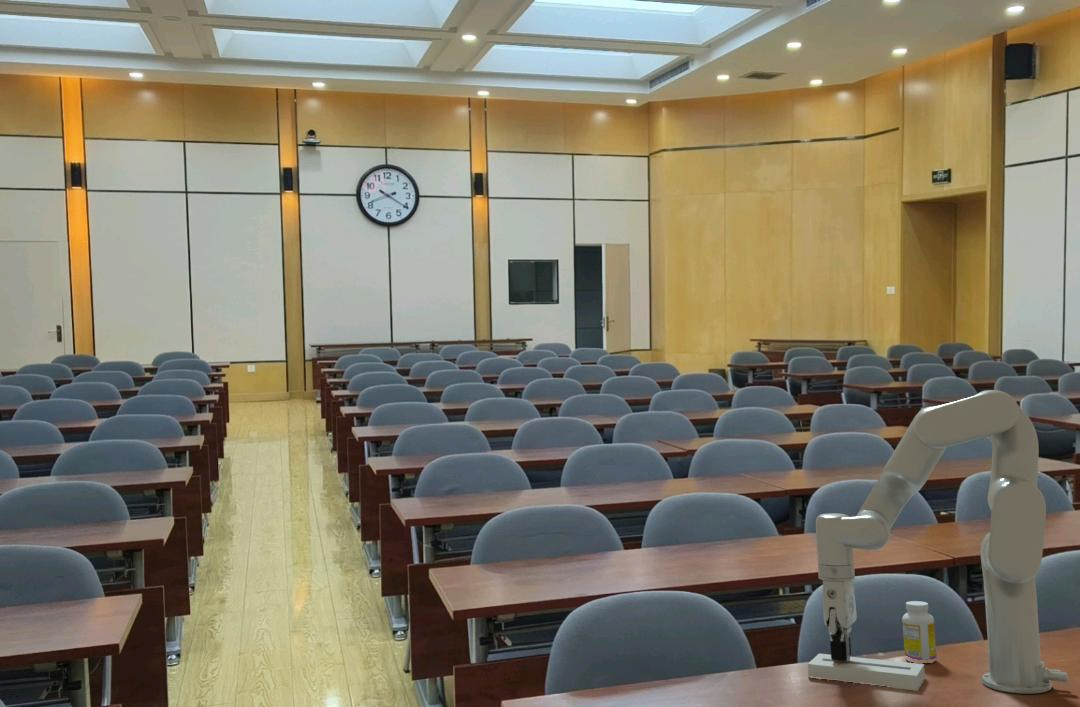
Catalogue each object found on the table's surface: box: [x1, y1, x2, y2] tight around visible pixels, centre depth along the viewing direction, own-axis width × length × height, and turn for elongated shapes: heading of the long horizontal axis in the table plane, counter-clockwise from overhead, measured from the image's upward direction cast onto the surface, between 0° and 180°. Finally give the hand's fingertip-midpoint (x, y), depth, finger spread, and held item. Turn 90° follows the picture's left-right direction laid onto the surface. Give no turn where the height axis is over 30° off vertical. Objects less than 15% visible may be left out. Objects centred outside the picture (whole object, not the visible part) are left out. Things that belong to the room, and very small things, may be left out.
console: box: [807, 653, 926, 692], centre depth 197 cm, size 22×9×3 cm, turn 59°
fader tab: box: [827, 625, 852, 663], centre depth 200 cm, size 4×4×7 cm
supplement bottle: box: [901, 600, 938, 661], centre depth 209 cm, size 7×7×13 cm
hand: (841, 656), depth 200 cm, fingers closed on fader tab, 3 cm apart
